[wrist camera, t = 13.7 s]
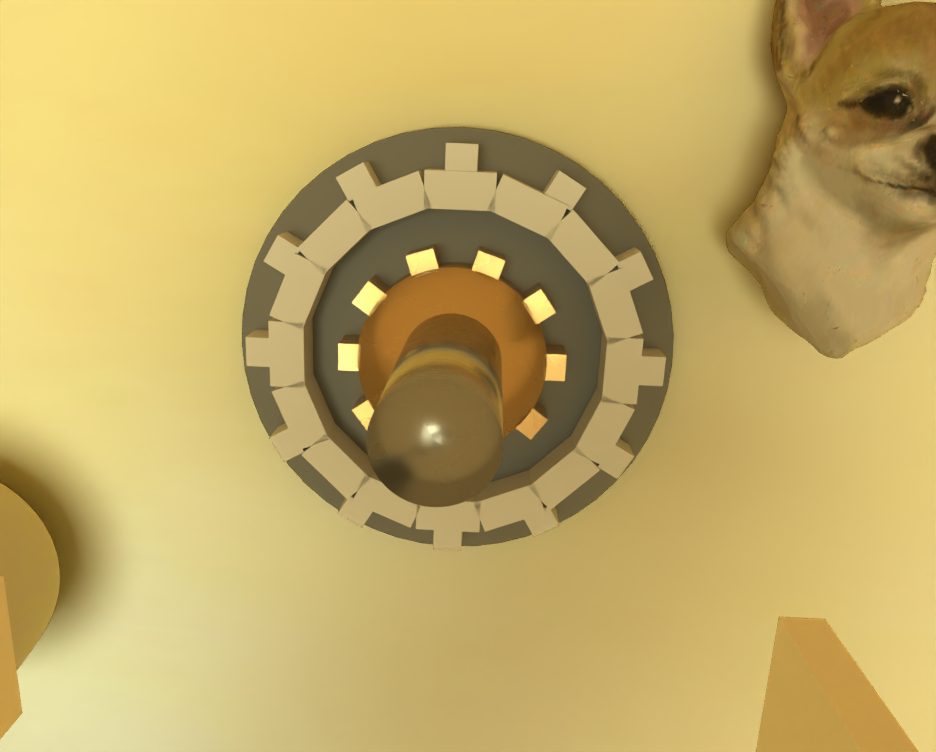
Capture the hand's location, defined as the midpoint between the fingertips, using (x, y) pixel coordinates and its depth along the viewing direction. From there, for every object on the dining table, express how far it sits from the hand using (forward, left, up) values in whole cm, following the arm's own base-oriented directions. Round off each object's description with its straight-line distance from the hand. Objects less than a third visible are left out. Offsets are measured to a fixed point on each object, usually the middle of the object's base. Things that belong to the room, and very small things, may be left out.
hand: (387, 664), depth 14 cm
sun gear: (0, 0, -21) cm, 21 cm away
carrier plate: (0, 0, -21) cm, 21 cm away
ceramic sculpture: (+15, +9, -22) cm, 28 cm away
